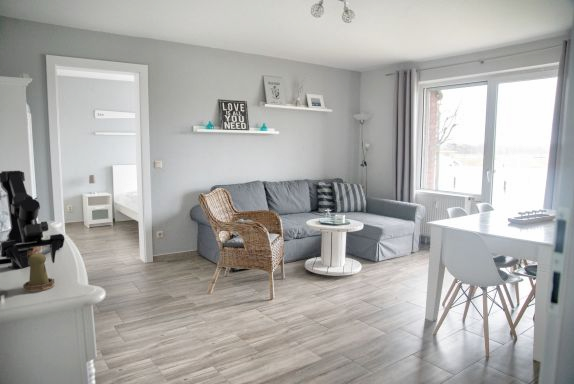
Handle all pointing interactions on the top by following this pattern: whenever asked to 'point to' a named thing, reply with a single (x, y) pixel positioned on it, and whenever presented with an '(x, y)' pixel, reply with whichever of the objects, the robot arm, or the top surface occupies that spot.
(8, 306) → the top surface
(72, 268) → the top surface
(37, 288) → the walnut stand
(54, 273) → the top surface
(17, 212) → the robot arm
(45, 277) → the cork
